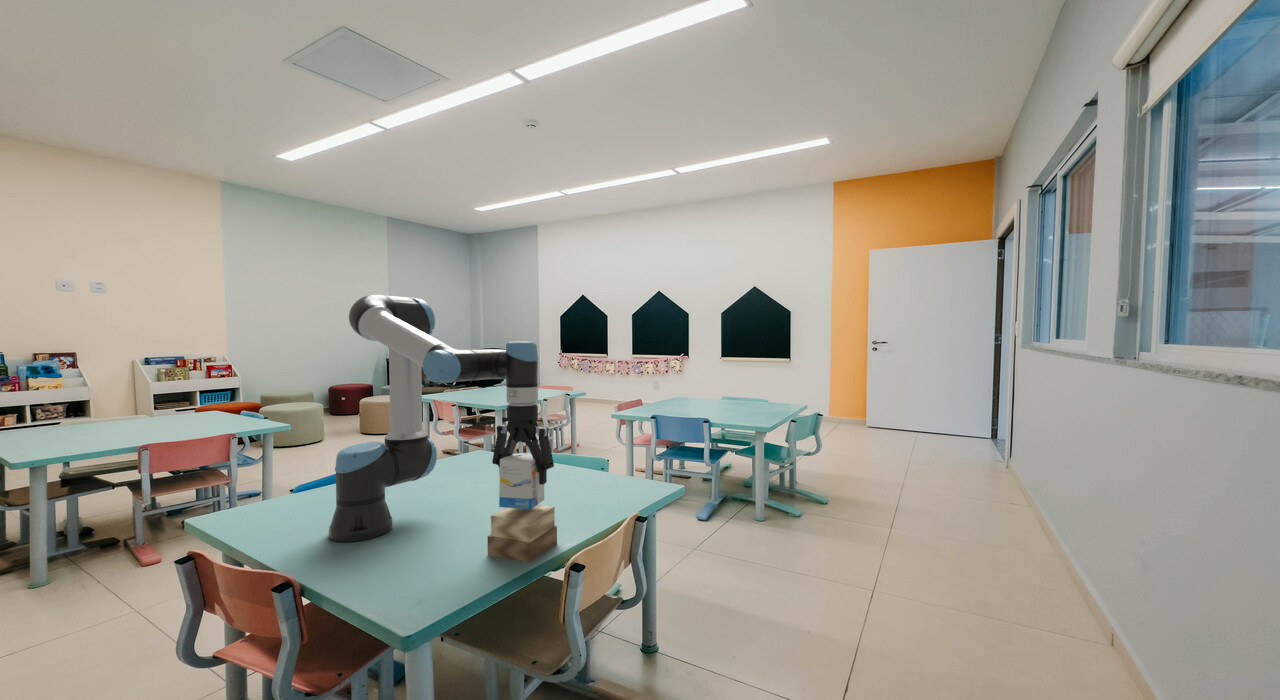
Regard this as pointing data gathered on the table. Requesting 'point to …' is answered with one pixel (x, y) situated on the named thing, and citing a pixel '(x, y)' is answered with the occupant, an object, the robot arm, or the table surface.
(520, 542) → the tower base
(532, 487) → the ink box
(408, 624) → the table surface
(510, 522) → the tower top
